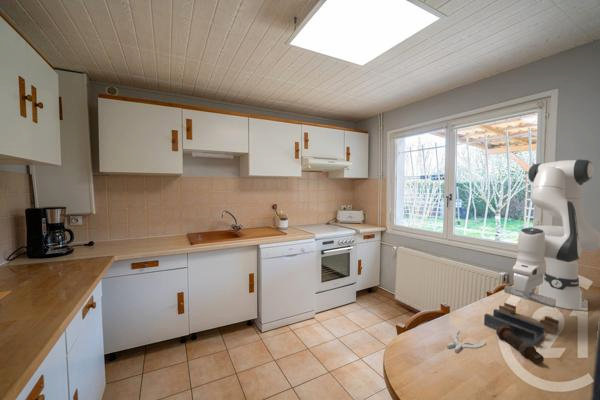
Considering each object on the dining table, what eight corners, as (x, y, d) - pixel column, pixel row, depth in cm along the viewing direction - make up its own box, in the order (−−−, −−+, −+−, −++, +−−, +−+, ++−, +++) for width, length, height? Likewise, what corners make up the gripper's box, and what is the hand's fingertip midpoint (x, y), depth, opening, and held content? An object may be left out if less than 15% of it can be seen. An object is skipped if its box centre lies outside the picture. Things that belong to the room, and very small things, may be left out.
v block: (495, 318, 109) (495, 308, 109) (544, 337, 96) (544, 326, 95) (484, 325, 104) (484, 314, 104) (533, 346, 91) (534, 334, 90)
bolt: (536, 370, 81) (500, 340, 96) (550, 363, 81) (511, 334, 96) (529, 356, 81) (493, 328, 96) (543, 348, 80) (505, 322, 95)
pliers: (486, 340, 92) (466, 354, 84) (486, 344, 92) (466, 359, 84) (458, 327, 100) (437, 339, 92) (458, 331, 100) (437, 343, 92)
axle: (504, 293, 113) (504, 286, 113) (507, 291, 115) (507, 284, 114) (552, 308, 99) (552, 300, 99) (555, 306, 101) (556, 298, 100)
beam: (504, 311, 116) (505, 302, 116) (558, 330, 101) (559, 320, 100) (498, 314, 113) (499, 305, 113) (553, 334, 98) (553, 324, 97)
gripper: (530, 260, 114) (528, 289, 115) (510, 268, 103) (509, 300, 104) (549, 264, 108) (547, 294, 109) (530, 273, 98) (528, 306, 99)
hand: (528, 297), depth 107 cm, fingers closed on axle, 3 cm apart
